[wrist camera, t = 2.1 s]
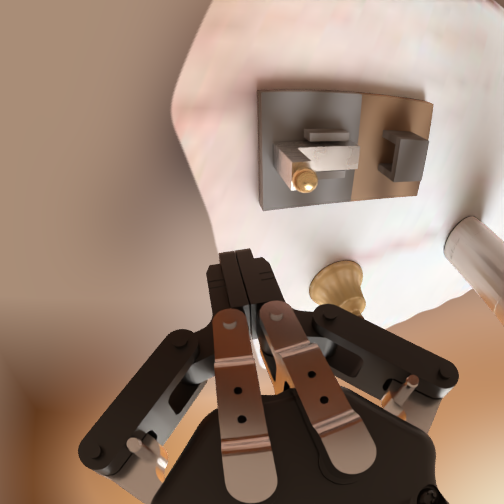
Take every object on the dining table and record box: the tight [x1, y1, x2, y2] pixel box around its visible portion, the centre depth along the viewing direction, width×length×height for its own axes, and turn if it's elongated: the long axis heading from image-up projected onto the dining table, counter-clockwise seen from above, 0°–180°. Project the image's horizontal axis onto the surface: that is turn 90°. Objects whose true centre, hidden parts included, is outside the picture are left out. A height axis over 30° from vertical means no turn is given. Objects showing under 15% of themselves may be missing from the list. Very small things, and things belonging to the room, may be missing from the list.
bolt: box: [273, 140, 360, 193], centre depth 25 cm, size 8×2×7 cm, turn 91°
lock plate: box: [257, 90, 433, 211], centre depth 28 cm, size 20×12×5 cm, turn 91°
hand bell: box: [309, 261, 366, 319], centre depth 36 cm, size 8×8×16 cm
